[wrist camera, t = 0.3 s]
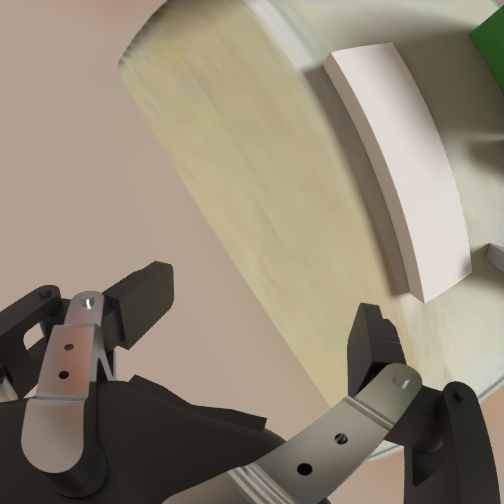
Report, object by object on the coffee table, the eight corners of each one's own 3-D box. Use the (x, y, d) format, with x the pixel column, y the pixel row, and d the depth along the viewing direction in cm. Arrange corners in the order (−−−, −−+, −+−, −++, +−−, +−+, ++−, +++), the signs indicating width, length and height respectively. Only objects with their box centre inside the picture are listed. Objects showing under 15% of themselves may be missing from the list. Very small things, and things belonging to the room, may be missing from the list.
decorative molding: (378, 55, 29) (321, 67, 30) (391, 42, 24) (330, 52, 25) (454, 264, 35) (408, 292, 36) (472, 272, 30) (424, 303, 31)
